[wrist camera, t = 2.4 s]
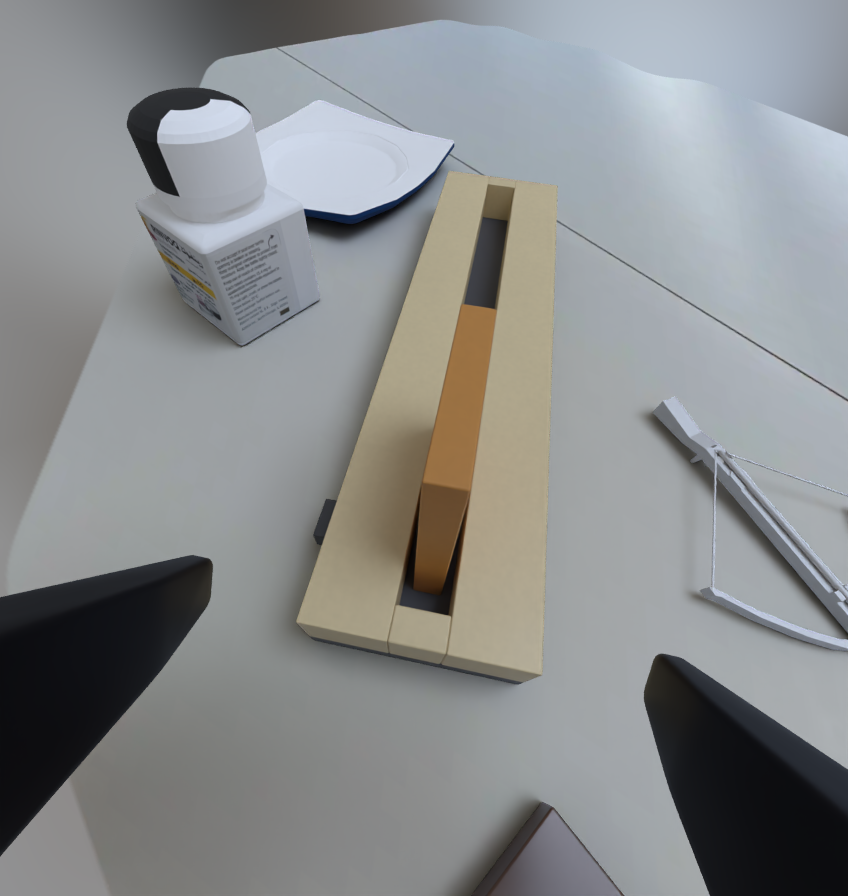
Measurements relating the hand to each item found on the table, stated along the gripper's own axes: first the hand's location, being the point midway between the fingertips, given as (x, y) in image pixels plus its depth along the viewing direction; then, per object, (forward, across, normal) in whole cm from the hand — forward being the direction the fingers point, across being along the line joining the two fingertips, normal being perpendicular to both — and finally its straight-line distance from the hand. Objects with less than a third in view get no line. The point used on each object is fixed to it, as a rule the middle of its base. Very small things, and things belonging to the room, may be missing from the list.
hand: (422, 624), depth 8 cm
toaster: (+24, 0, -5) cm, 25 cm away
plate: (+42, +18, -22) cm, 51 cm away
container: (+26, +18, -7) cm, 33 cm away
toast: (+14, 0, +3) cm, 15 cm away
